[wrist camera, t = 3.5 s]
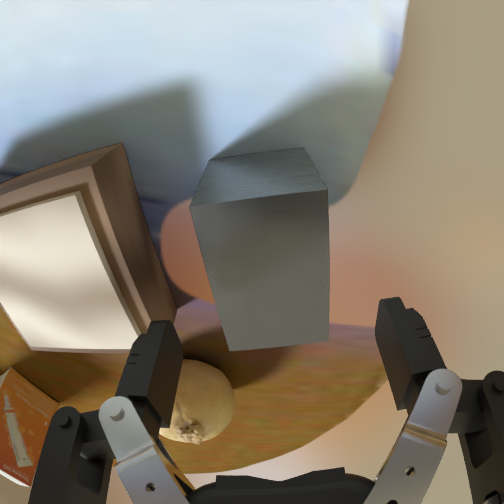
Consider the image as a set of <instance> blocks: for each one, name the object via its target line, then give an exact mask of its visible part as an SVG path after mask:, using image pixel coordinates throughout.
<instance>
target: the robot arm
mask: <svg viewBox="0 0 504 504" xmlns="http://www.w3.org/2000/svg"><path fill="white" fill-rule="evenodd" d="M375 337H376V342H377V345H378V348H379V351H380V354H381V357H382V361H383V364H384V367H385V370H386V373H387V377H388V380H389V383H390V386H391V390H392V393H393V396H394V400H395V404H396V407H397V410H402V409H407V413H408V417H407V419H406V422H405V424H404V426H403V428H402V430H401V432H400V434H399V436H398V438H397V440H396V442H395V444H394V446H393V448H392V450H391V451H390V453H389V455H388V457H387V459H386V461H385V462H384V464H383V466H382V467H381V469H380V471H379V473H378V474H377V476H376V478H375V479H374V481H372V480H370V479H368V478H365V477H362V476H359V475H354V474H348V473H345V469H344V467H341V468H334V469H328V470H319V471H312V472H309V473H306V474H303V475H300V476H298V477H294V478H291V479H288V480H284V481H273V480H267V479H262V478H257V477H252V476H224V475H217V476H216V482H213V483H210V484H207V485H204V486H202V487H199V488H198V489H195V488H194V487H193V485H192V484H191V483H190V482H189V480H188V479H187V478H186V477H185V476H184V474H183V473H182V472H181V470H180V469H179V467H178V466H177V464H176V463H175V461H174V460H173V458H172V456H171V455H170V453H169V452H168V450H167V449H166V447H165V445H164V444H163V442H162V440H161V439H160V437H159V431H160V428H170V424H171V419H172V413H173V408H174V403H175V397H176V392H177V387H178V382H179V377H180V372H181V367H182V362H183V348H182V345H181V342H180V340H179V338H178V335H177V333H176V330H175V328H174V326H173V323H172V321H171V320H154V321H151V322H150V324H149V327H148V330H147V333H146V334H140V335H139V336H138V338H137V339H136V340H135V341H134V342H133V344H132V347H131V350H130V353H129V356H128V358H127V361H126V365H125V367H124V370H123V373H122V376H121V379H120V382H119V385H118V388H117V391H116V394H115V396H114V397H112V398H110V399H108V400H107V401H105V402H104V403H103V405H102V406H101V408H100V409H99V410H95V411H91V412H86V413H79V412H78V411H77V410H76V409H75V408H73V407H70V406H66V407H62V408H60V409H59V410H57V411H56V412H55V413H54V415H53V416H52V418H51V421H50V424H49V427H48V431H47V434H46V437H45V440H44V444H43V447H42V451H41V454H40V458H39V461H38V465H37V469H36V473H35V476H34V480H33V485H32V489H31V493H30V498H29V503H28V504H106V499H107V492H108V486H109V480H110V474H111V468H112V463H113V459H117V464H115V468H116V470H117V473H118V475H119V477H120V479H121V481H122V483H123V485H124V487H125V489H126V491H127V493H128V494H129V496H130V498H131V500H132V502H133V504H421V502H422V500H423V498H424V496H425V494H426V492H427V490H428V488H429V486H430V484H431V481H432V479H433V477H434V475H435V473H436V471H437V468H438V466H439V464H440V461H441V459H442V456H443V454H444V451H445V448H446V446H447V441H446V437H447V434H448V433H458V436H459V440H460V444H461V448H462V452H463V456H464V460H465V465H466V469H467V474H468V479H469V484H470V489H471V494H472V500H473V504H504V372H502V371H492V372H490V373H488V374H487V375H486V376H485V378H484V380H465V379H460V378H459V376H458V375H457V374H456V373H455V372H453V371H451V370H448V369H447V368H446V366H445V364H444V361H443V359H442V357H441V355H440V353H439V351H438V348H437V346H436V344H435V342H434V340H433V338H432V337H431V333H430V331H429V329H427V325H426V323H425V321H424V319H423V317H422V316H421V315H420V314H419V313H418V312H417V311H415V310H414V309H413V308H410V309H406V308H405V306H404V304H403V302H402V300H401V299H400V297H393V298H387V299H381V300H380V302H379V306H378V313H377V320H376V325H375Z"/></svg>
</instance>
